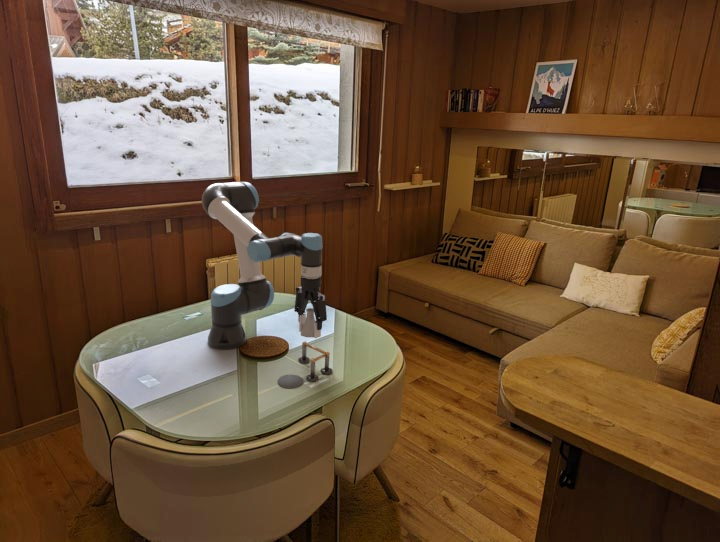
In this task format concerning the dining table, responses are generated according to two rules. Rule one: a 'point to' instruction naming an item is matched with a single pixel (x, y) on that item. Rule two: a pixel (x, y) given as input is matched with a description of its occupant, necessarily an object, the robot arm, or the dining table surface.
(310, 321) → the flask
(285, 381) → the pad
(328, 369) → the wire rail
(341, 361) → the dining table surface
